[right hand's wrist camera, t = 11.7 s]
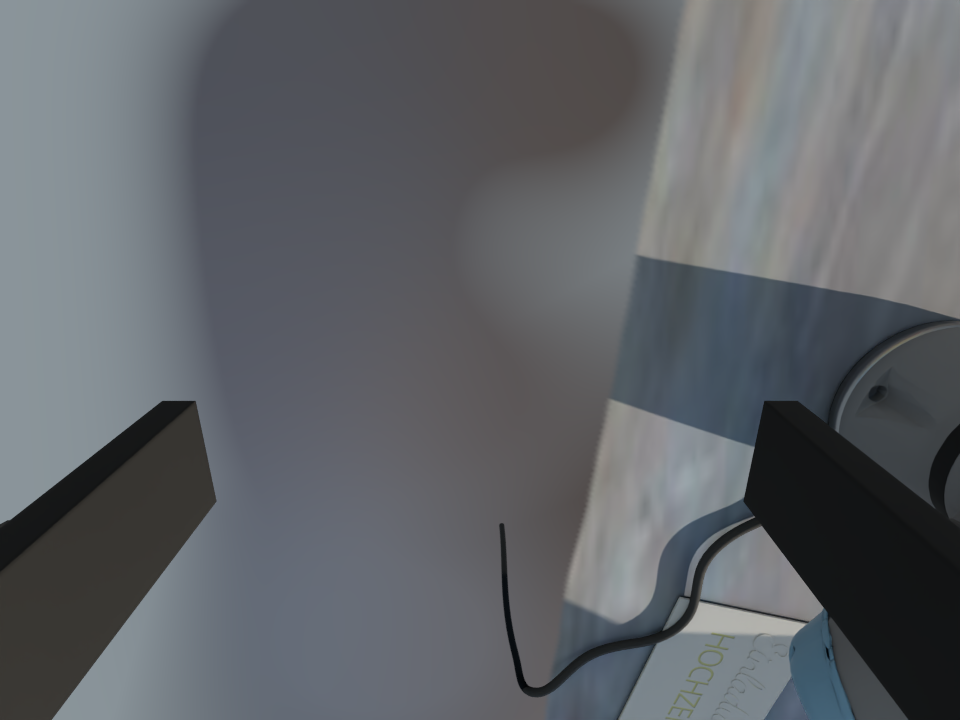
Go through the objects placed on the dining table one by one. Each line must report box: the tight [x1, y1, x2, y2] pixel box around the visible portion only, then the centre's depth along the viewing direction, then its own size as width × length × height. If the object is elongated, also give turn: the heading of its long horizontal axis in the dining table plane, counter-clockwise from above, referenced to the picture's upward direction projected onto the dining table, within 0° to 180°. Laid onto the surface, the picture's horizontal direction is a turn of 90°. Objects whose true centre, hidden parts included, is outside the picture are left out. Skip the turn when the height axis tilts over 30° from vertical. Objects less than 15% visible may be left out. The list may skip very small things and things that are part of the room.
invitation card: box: [618, 597, 808, 720], centre depth 56 cm, size 21×1×15 cm
